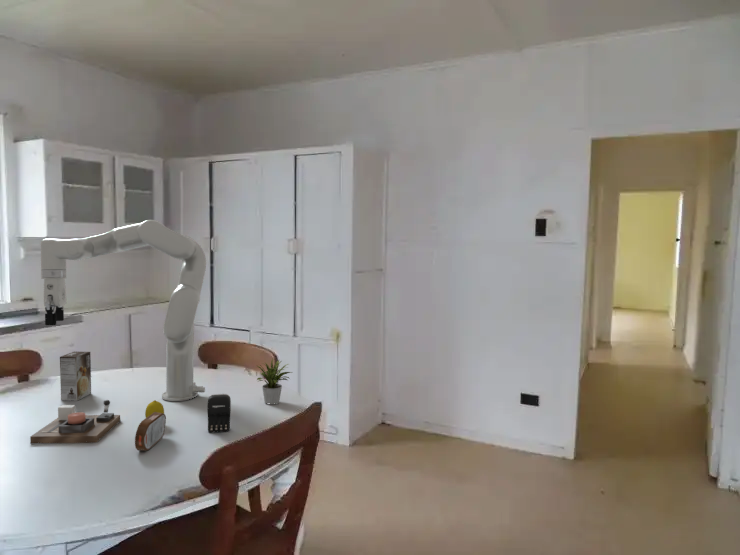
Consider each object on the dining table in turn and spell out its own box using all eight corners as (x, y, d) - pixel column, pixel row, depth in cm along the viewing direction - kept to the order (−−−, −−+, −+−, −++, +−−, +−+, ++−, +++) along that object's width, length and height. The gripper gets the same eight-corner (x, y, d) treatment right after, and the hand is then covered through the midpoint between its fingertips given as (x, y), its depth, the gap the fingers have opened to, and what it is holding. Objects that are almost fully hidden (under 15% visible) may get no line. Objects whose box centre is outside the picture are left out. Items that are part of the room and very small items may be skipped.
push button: (88, 418, 158) (88, 412, 158) (81, 424, 153) (81, 417, 153) (72, 418, 158) (72, 412, 157) (64, 424, 153) (64, 417, 153)
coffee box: (75, 393, 196) (74, 350, 195) (91, 393, 196) (91, 351, 195) (60, 400, 187) (59, 356, 186) (77, 401, 187) (77, 356, 186)
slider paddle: (75, 417, 164) (75, 405, 164) (71, 420, 162) (71, 407, 162) (62, 417, 164) (61, 405, 164) (58, 420, 162) (58, 407, 161)
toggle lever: (109, 412, 165) (111, 399, 166) (107, 412, 163) (109, 399, 164) (103, 412, 165) (105, 400, 166) (101, 412, 163) (103, 399, 164)
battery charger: (206, 434, 159) (206, 397, 158) (207, 429, 163) (207, 393, 162) (230, 433, 161) (230, 396, 160) (230, 428, 164) (230, 393, 163)
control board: (120, 420, 168) (120, 408, 168) (96, 442, 151) (96, 429, 150) (61, 421, 167) (61, 409, 166) (30, 443, 149) (30, 429, 149)
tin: (157, 435, 158) (157, 407, 157) (168, 435, 158) (167, 408, 157) (133, 455, 143) (133, 425, 142) (145, 456, 143) (144, 425, 142)
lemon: (167, 423, 167) (167, 399, 167) (155, 429, 162) (155, 404, 162) (153, 421, 169) (153, 396, 169) (141, 426, 164) (141, 401, 163)
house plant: (261, 412, 180) (262, 366, 179) (242, 402, 190) (243, 358, 189) (296, 404, 189) (297, 360, 188) (276, 395, 200) (277, 353, 198)
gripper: (59, 276, 175) (60, 326, 176) (72, 272, 191) (72, 318, 192) (33, 276, 173) (34, 327, 174) (48, 272, 189) (49, 319, 190)
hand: (54, 322), depth 183 cm, fingers open, 9 cm apart
